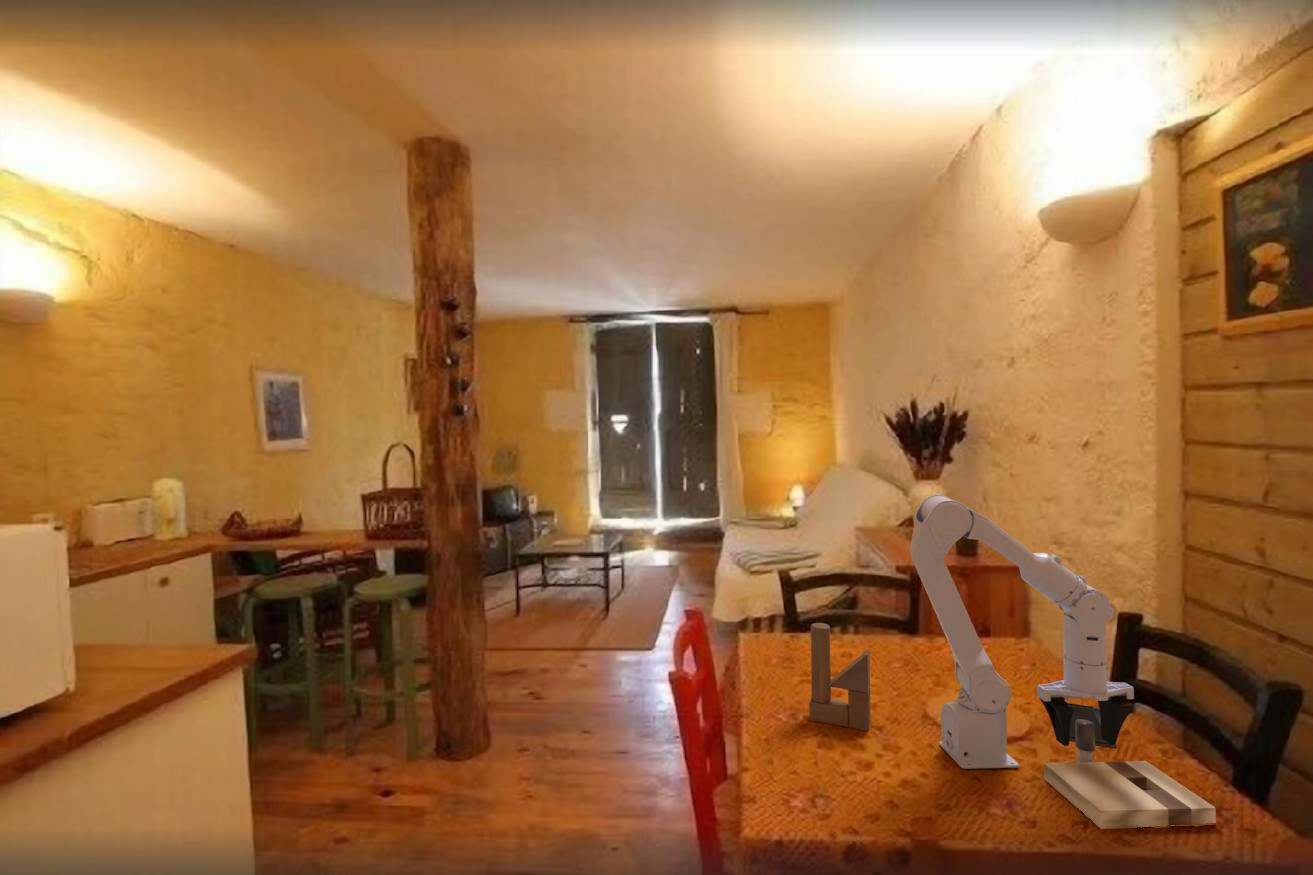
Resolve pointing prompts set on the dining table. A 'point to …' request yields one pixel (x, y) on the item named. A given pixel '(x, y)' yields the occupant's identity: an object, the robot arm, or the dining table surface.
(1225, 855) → the dining table surface
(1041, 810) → the dining table surface
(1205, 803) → the board
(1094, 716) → the phone
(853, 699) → the wooden block
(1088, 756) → the grey cylinder
